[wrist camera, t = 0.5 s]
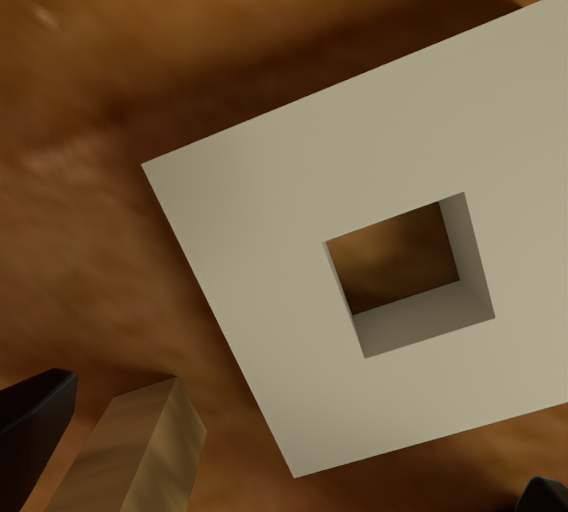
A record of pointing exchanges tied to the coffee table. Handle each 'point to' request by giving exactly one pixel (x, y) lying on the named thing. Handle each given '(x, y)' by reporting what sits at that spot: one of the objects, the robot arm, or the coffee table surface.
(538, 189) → the socket block
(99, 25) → the coffee table surface
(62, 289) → the coffee table surface
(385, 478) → the coffee table surface
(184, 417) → the peg
